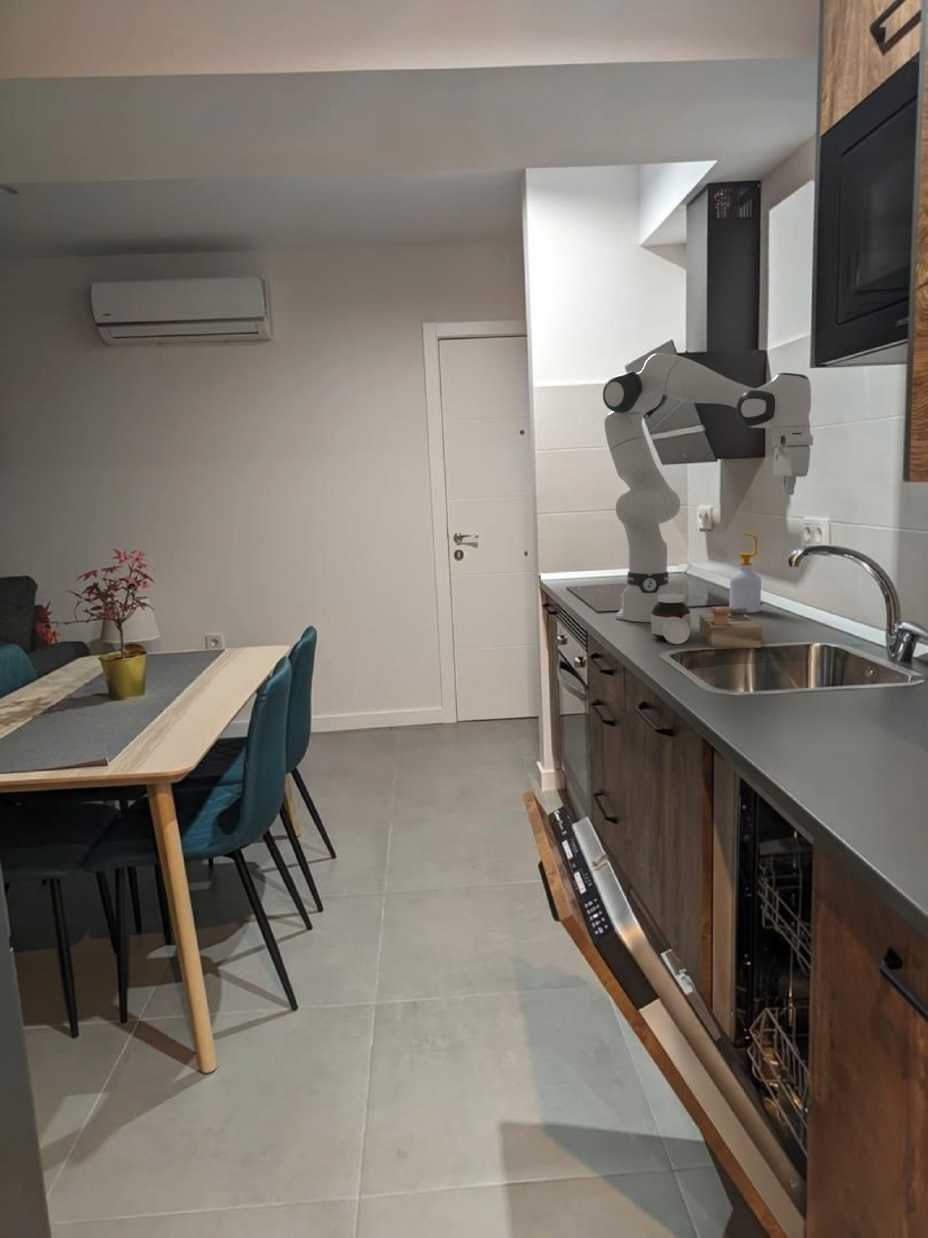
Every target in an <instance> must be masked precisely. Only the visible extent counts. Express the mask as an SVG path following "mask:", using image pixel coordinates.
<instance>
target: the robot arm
mask: <svg viewBox="0 0 928 1238" xmlns="http://www.w3.org/2000/svg"><path fill="white" fill-rule="evenodd" d="M810 382H811V381H810V378H809V377H808V376H807V375H805V374H801V373H792V372H780V373H778V374H776V375H775V376H774V377H773V379H771V380H770V381H768V382H767V383H765V384H763V385H761V386H759V387H756V388H755V387H751V386H749V385H746V384H743V383H740V382H737V381H734V380H732V379H730V378H728V377H725V376H724V375H722V374H719V373H718V372H716V371H714V370H712V369H710V368H708V367H707V366H705V365H703V364H700V363H699V362H696V361H694V360H692V359H689V358H686V357H684V356H680V355H676V354H672V353H663V352H658V353H654V354H652V355H651V356H649V357H648V358H647V359H646V361H645V362H644V365H643V367H642V369H641V371H639V372H635V371H629V372H625V373H621V374H618V375H616V376H614V377H611V378H610V379H609V380H608V381H607V382H606V383H605V385H604V387H603V391H602V400H603V403H604V405H605V406H606V408H607V409H609V410H610V412H609V413H608V414H607V415H606V416H605V419H604V423H603V425H604V430H605V436H606V441H607V445H608V449H609V452H610V455H611V458H612V462H613V463H614V467H615V469H616V472H617V475H618V478H620V479H621V480H622V481H623V482H624V483H625V484H626V485H627V488H629V489H630V490H627V491H626V492H625V493H622V494H621V495H620V496H619V497H618V499H617V501H616V504H615V513H616V516H617V518H618V520H619V521H620V522H621V523H622V525H623V528H624V530H625V534H626V538H627V543H628V572H627V576H626V579H627V581H626V582H627V584H628V585H627V586H626V588H625V589H624V590H623V591H622V593H621V594H620V599H619V601H620V603H621V604H620V609H619V611H618V612H617V613H616V615H615V619H616V620H625V621H631V622H636V623H637V622H639V623H640V622H641V623H651V614H652V610H653V608H654V606H655V605H656V604H657V603H658V595H661V594H674V590H672V588H671V587H669V585H668V584H669V577H670V576H669V571H668V546H667V543H666V542H665V540H664V539H663V537H662V536H663V535H662V532H661V528H660V525H661V524H665V523H667V522H669V521H670V520H672V519H674V518H675V517H676V516H677V515H678V514H679V512H680V509H681V499H680V497H679V495H678V493H677V492H676V491H674V490H673V489H672V488H671V486H670V485H669V484H668V482H667V481H666V480H665V478H664V476H663V474H662V473H661V471H660V469H659V467H658V466H657V464H656V462H655V460H654V456H653V453H652V452H651V447H650V445H649V443H648V439H647V437H646V434H645V431H644V428H643V420H644V419H645V418H647V419H648V418H651V416H652V415H653V414H654V413H655V412H656V411H657V410H659V409H661V407H662V406H664V404H665V403H667V399H668V398H670V399H673V400H677V401H681V402H684V403H692V404H719V405H725V406H729V407H732V408H735V410H736V411H735V413H736V417H737V420H738V421H739V422H740V423H741V424H742V425H743V426H745V427H749V428H752V429H753V428H755V429H756V428H758V429H772V430H771V431H772V433H771V434H772V435H771V447H773V448H775V449H774V452H773V453H774V454H773V465H772V467H773V468H772V474H773V476H774V477H782V479H781V480H782V485H783V495H785V496H793V495H794V494H795V487H796V483H797V477H798V478H799V477H801V478H802V477H803V478H804V477H807V476H808V473H809V467H810V460H811V446H813V445H814V436H813V435H812V434H811V423H810V413H811V410H812V388H811V387H812V386H811V383H810Z"/></svg>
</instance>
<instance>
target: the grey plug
mask: <svg viewBox="0 0 928 1238" xmlns="http://www.w3.org/2000/svg"><path fill="white" fill-rule="evenodd" d="M728 607H729V606H728ZM729 608H731V613H730V614H731V618H730V619H745V614H747V613H746V612H747V608H746V607H739V606H734V607H729Z"/></svg>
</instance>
